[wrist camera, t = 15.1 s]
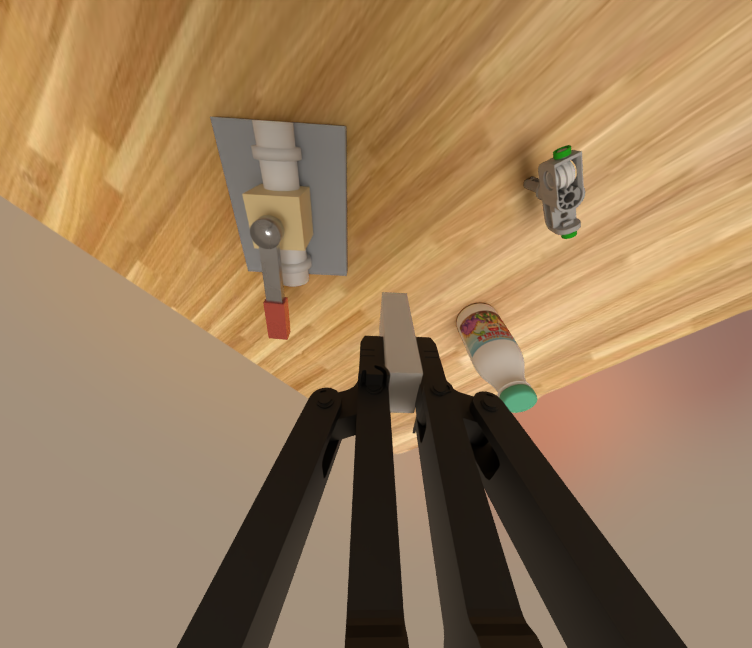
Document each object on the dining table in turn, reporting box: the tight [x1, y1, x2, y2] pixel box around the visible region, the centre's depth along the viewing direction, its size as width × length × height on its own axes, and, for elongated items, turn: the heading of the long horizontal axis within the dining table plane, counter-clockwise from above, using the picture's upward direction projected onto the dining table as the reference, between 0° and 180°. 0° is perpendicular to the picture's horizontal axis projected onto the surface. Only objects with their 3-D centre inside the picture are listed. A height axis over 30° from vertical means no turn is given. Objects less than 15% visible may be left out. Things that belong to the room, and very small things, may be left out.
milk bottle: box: [457, 303, 537, 413], centre depth 45 cm, size 8×8×20 cm
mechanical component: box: [524, 145, 585, 239], centre depth 34 cm, size 3×10×10 cm, turn 28°
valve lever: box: [250, 215, 290, 340], centre depth 34 cm, size 17×3×2 cm, turn 173°
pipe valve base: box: [210, 117, 347, 286], centre depth 35 cm, size 20×16×11 cm
